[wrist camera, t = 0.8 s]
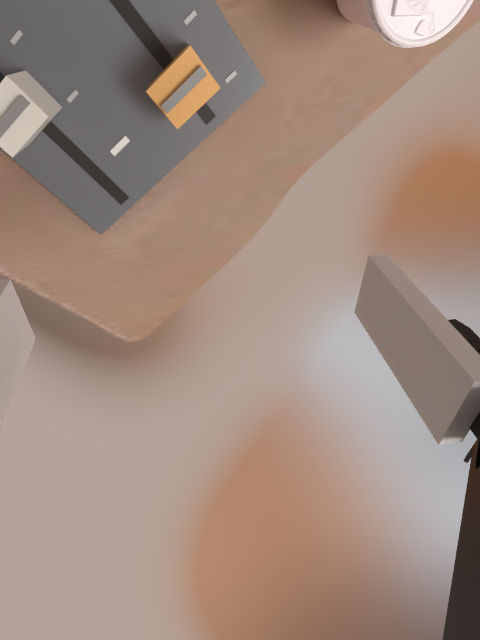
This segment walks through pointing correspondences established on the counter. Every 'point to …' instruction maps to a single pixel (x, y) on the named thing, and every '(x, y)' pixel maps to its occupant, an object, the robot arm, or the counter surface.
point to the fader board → (117, 92)
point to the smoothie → (406, 18)
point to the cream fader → (23, 111)
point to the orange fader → (182, 87)
